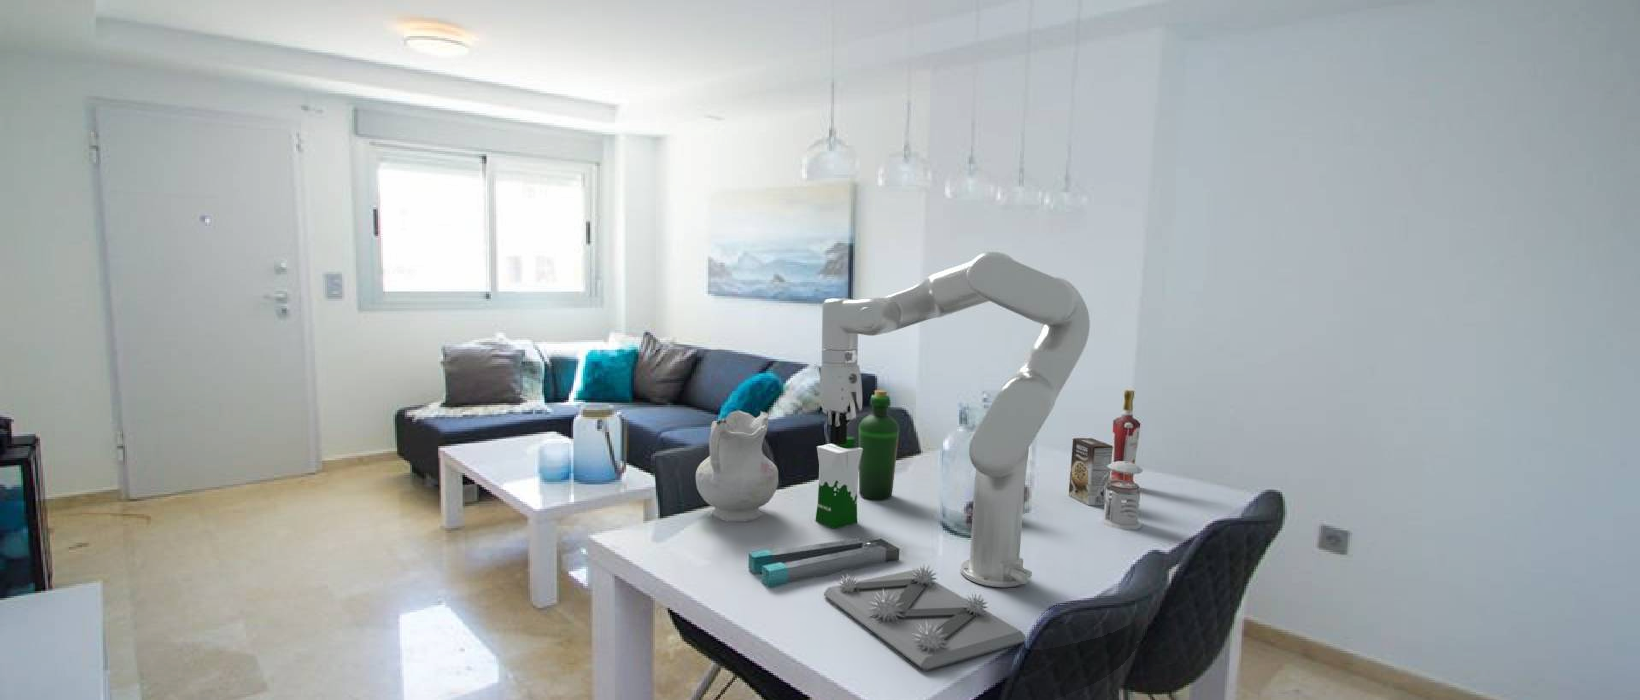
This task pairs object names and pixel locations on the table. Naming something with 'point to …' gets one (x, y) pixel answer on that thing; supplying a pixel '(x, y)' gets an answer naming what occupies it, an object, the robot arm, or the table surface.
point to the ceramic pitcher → (737, 468)
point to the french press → (1122, 496)
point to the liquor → (1125, 437)
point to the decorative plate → (923, 617)
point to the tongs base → (828, 564)
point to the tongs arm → (802, 553)
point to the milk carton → (838, 483)
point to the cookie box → (1089, 470)
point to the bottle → (878, 449)
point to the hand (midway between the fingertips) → (838, 443)
